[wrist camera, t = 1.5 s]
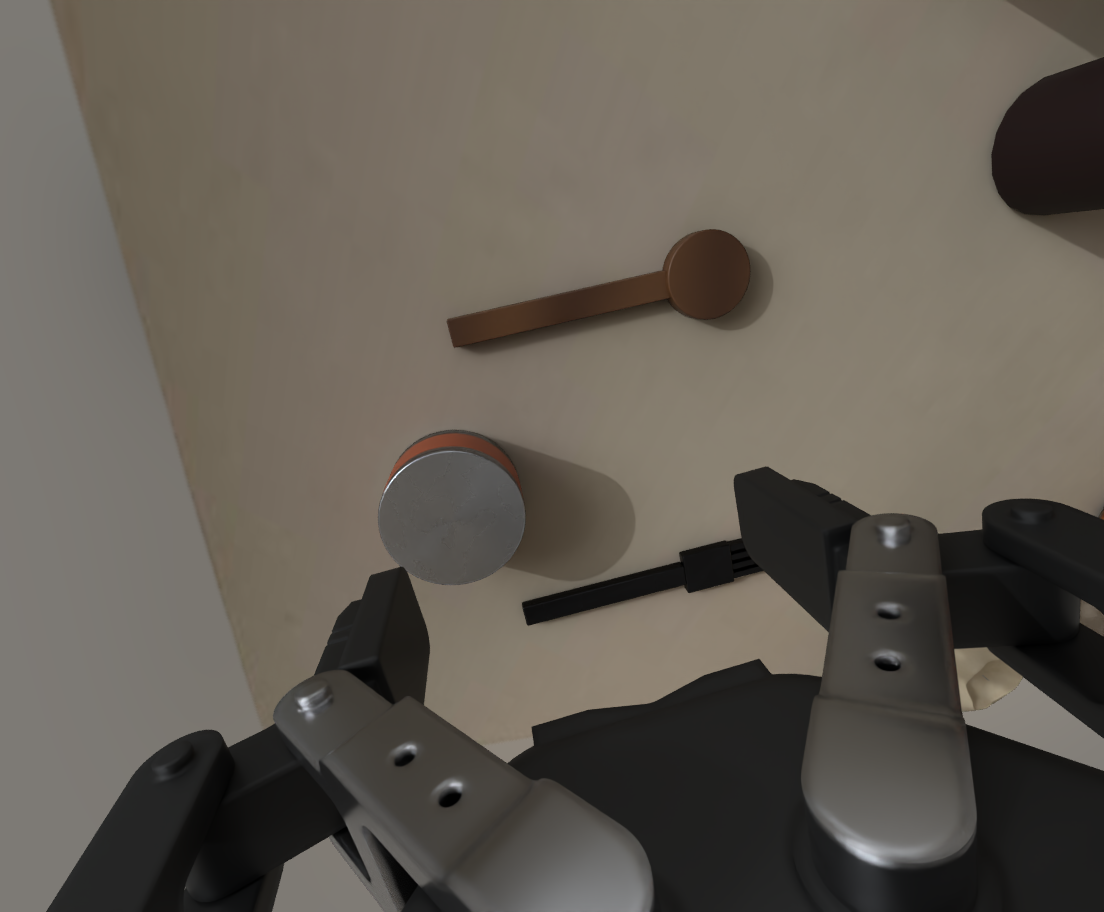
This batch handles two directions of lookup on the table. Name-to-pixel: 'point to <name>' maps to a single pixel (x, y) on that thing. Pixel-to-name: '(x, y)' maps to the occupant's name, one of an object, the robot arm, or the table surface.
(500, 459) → the tin can
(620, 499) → the table surface
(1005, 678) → the candle
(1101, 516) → the sauce bottle
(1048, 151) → the vinegar
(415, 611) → the robot arm
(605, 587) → the fork
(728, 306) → the spoon
